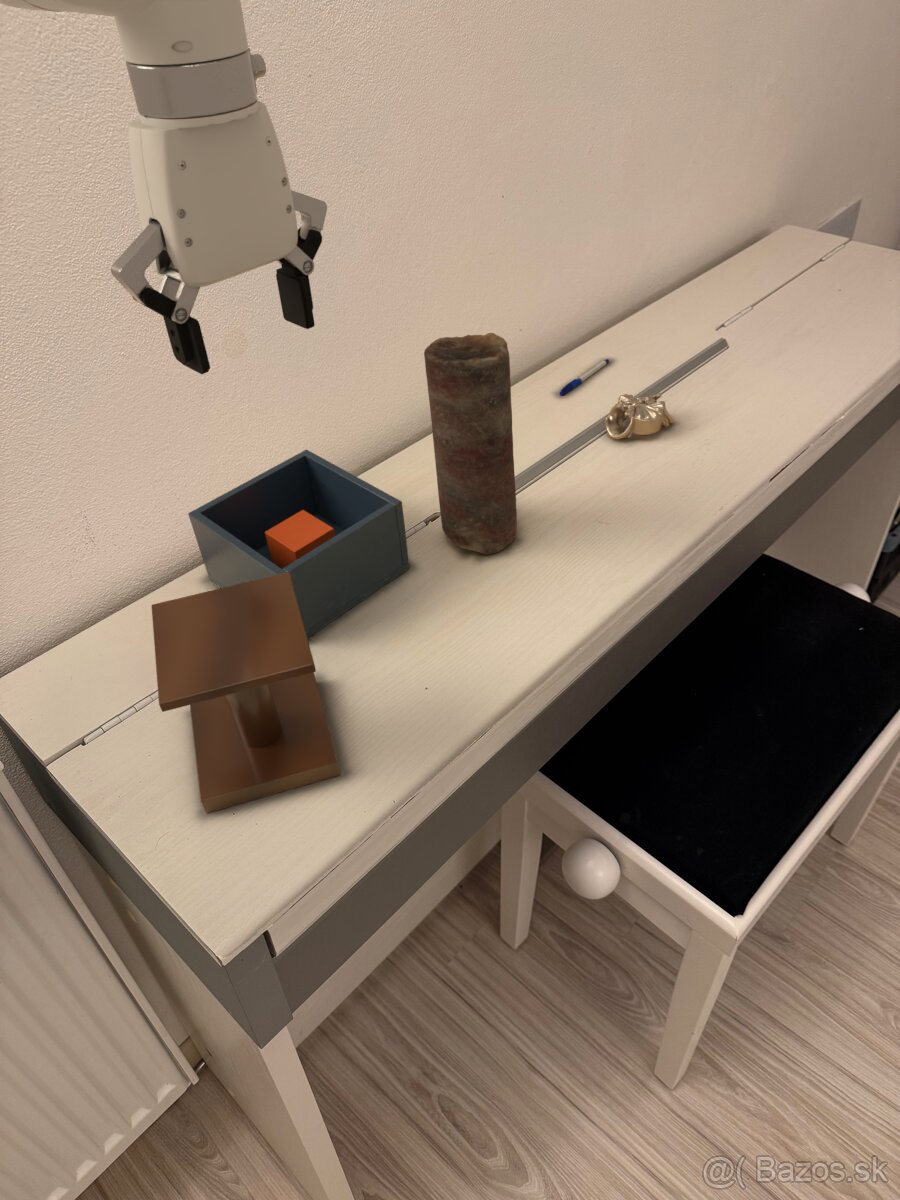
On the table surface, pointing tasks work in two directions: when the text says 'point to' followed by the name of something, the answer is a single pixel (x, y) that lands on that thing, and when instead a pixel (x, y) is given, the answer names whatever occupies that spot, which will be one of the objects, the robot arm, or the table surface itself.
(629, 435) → the ornament
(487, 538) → the brown textured cylinder
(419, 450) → the table surface
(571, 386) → the ballpoint pen
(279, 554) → the orange block
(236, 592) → the serving stand
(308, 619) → the blue open crate
